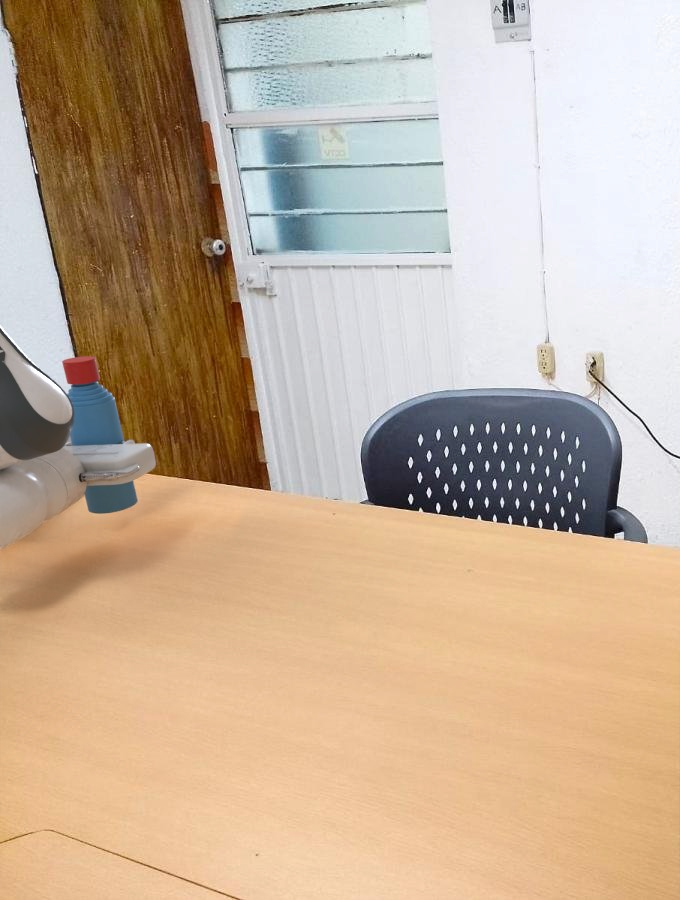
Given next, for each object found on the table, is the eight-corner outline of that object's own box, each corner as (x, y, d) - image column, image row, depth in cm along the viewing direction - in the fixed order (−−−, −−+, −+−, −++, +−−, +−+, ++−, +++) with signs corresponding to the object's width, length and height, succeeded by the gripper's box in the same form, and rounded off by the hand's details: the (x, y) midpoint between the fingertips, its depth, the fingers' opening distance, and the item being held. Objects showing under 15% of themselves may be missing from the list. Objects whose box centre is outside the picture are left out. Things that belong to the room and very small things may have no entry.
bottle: (81, 515, 119) (44, 369, 112) (97, 499, 125) (63, 359, 118) (129, 511, 120) (96, 366, 113) (143, 495, 126) (112, 356, 119)
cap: (62, 385, 114) (56, 363, 113) (73, 378, 118) (68, 357, 117) (94, 383, 115) (89, 361, 114) (104, 376, 118) (99, 355, 117)
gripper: (121, 454, 106) (170, 422, 119) (-41, 459, 106) (27, 427, 119) (131, 499, 108) (179, 463, 121) (-27, 505, 108) (38, 468, 121)
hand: (102, 445), depth 120 cm, fingers closed on bottle, 6 cm apart
